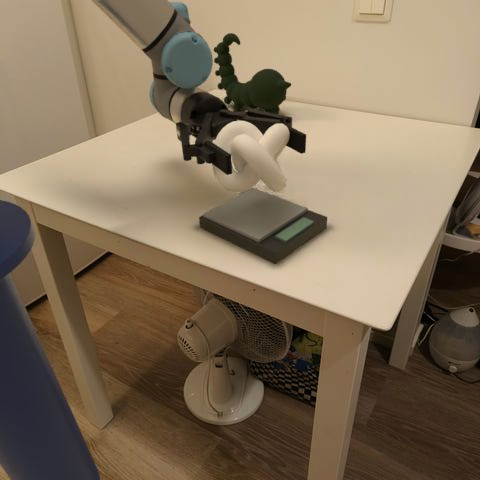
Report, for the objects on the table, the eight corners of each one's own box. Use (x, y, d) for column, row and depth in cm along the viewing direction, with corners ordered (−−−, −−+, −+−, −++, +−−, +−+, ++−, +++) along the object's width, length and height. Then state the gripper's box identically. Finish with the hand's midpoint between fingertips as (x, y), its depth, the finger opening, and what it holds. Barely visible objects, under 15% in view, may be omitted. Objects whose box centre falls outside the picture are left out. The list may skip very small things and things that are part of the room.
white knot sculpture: (250, 162, 76) (248, 107, 70) (311, 179, 70) (314, 121, 64) (204, 187, 69) (198, 129, 64) (267, 209, 63) (267, 147, 57)
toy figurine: (212, 113, 124) (279, 125, 108) (202, 36, 114) (274, 36, 98) (237, 105, 129) (304, 115, 113) (229, 30, 119) (302, 29, 103)
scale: (199, 227, 74) (198, 213, 72) (252, 198, 81) (252, 185, 80) (275, 264, 65) (275, 249, 64) (326, 227, 72) (327, 213, 71)
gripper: (258, 121, 85) (332, 159, 70) (138, 151, 76) (193, 201, 61) (258, 79, 80) (337, 109, 65) (129, 105, 71) (187, 147, 56)
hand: (268, 154), depth 63 cm, fingers closed on white knot sculpture, 12 cm apart
